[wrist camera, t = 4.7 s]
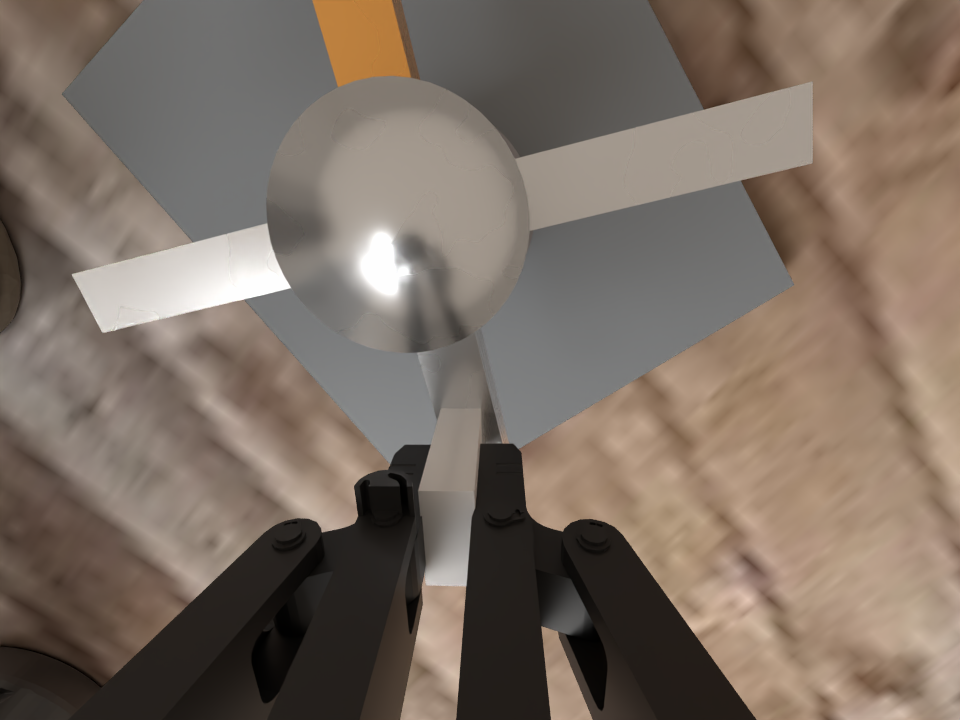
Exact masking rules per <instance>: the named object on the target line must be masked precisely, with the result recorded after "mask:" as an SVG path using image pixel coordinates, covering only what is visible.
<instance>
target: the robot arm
mask: <svg viewBox="0 0 960 720" xmlns="http://www.w3.org/2000/svg"><path fill="white" fill-rule="evenodd" d="M354 489H355V496H356V504H357V511H358V518H357V520H356V522H355V524H353V525H351V526H348V527H345V528H341V529H337V530H332V531H328V532H323V533H322V532H321V528H320V526H319V525H318V524H317V522H315V521H312V520H310V519H300V518H297V519H292V520H287V521H284V522H282V523H279V524H277V525H275V526H273V527H272V528H270V529H269V530H268V531H266V532H265V533H264V534H263V535H262V536H261V537H260V538H258V539H257V540H256V541H255V542H254V543H253V544H252V545H251V546H250V547H249V548H248V549H247V550H246V551H245V552H244V553H243V554H242V555H241V556H240V557H238V558H237V559H236V560H235V561H234V562H233V563H232V564H231V565H230V566H229V567H228V568H227V569H226V570H225V571H224V572H223V573H222V574H221V575H220V576H218V577H217V578H216V579H215V580H214V581H213V582H212V583H211V584H210V585H209V586H208V587H207V588H206V589H205V590H204V591H203V592H202V593H201V594H200V595H199V596H197V597H196V598H195V599H194V600H193V601H192V602H191V603H190V604H189V605H188V606H187V607H186V608H185V609H184V610H183V611H182V612H181V613H180V614H179V615H177V616H176V617H175V618H174V619H173V620H172V621H171V622H170V623H169V624H168V625H167V626H166V627H165V628H164V629H163V630H162V631H161V632H160V633H159V634H157V635H156V636H155V637H154V638H153V639H152V640H151V641H150V642H149V643H148V644H147V645H146V646H145V647H144V648H143V649H142V650H141V651H140V652H139V653H137V654H136V655H135V656H134V657H133V658H132V659H131V660H130V661H129V662H128V663H127V664H126V665H125V666H124V667H123V668H122V669H121V670H120V671H119V672H117V673H116V674H115V675H114V676H113V677H112V678H111V679H110V680H109V681H108V682H107V683H106V684H105V685H104V686H103V687H102V688H100V687H99V686H98V685H97V684H96V683H95V682H93V681H92V680H91V679H89V678H88V677H86V676H85V675H84V674H82V673H80V672H79V671H77V670H75V669H74V668H72V667H70V666H68V665H66V664H64V663H62V662H60V661H58V660H55V659H53V658H50V657H48V656H45V655H42V654H39V653H35V652H32V651H28V650H23V649H17V648H10V647H0V720H400V717H401V712H402V706H403V701H404V696H405V691H406V686H407V681H408V676H409V671H410V666H411V661H412V656H413V651H414V646H415V641H416V635H417V630H418V625H419V620H420V615H421V610H422V605H423V601H422V582H423V577H424V572H425V580H426V585H438V586H466V599H465V612H464V625H463V638H462V652H461V665H460V678H459V691H458V705H457V718H456V720H551V716H550V706H549V697H548V687H547V678H546V668H545V658H544V649H543V639H542V629H541V626H543V627H546V628H549V629H552V630H555V631H558V634H559V639H560V641H561V643H562V646H563V648H564V651H565V653H566V656H567V658H568V660H569V663H570V665H571V668H572V670H573V673H574V675H575V677H576V680H577V682H578V685H579V687H580V690H581V692H582V694H583V697H584V699H585V702H586V704H587V706H588V709H589V711H590V714H591V716H592V719H593V720H756V718H755V717H754V716H753V714H752V713H751V712H750V710H749V709H748V707H747V706H746V705H745V703H744V702H743V701H742V699H741V698H740V696H739V695H738V694H737V692H736V691H735V690H734V688H733V687H732V685H731V684H730V683H729V681H728V680H727V678H726V677H725V676H724V674H723V673H722V672H721V670H720V669H719V667H718V666H717V665H716V663H715V662H714V661H713V659H712V658H711V656H710V655H709V654H708V652H707V651H706V649H705V648H704V647H703V645H702V644H701V643H700V641H699V640H698V638H697V637H696V636H695V634H694V633H693V632H692V630H691V629H690V627H689V626H688V625H687V623H686V622H685V620H684V619H683V618H682V616H681V615H680V614H679V612H678V611H677V609H676V608H675V607H674V605H673V604H672V603H671V601H670V600H669V598H668V597H667V596H666V594H665V593H664V591H663V590H662V589H661V587H660V586H659V585H658V583H657V582H656V580H655V579H654V578H653V576H652V575H651V574H650V572H649V571H648V569H647V568H646V567H645V565H644V564H643V562H642V561H641V560H640V558H639V557H638V556H637V554H636V553H635V551H634V550H633V549H632V547H631V546H630V545H629V543H628V542H627V540H626V539H625V538H624V536H623V535H622V534H621V533H620V532H619V531H618V530H617V529H616V528H615V527H613V526H611V525H609V524H607V523H605V522H602V521H598V520H593V519H583V520H578V521H575V522H572V523H570V524H569V525H568V526H567V527H566V528H564V531H563V532H562V531H558V530H554V529H550V528H547V527H545V526H543V525H541V524H539V523H537V522H536V521H535V520H534V519H532V518H531V516H530V515H529V513H528V511H527V508H526V500H525V489H524V477H523V466H522V455H521V452H520V451H519V449H518V448H517V447H516V446H515V445H514V443H503V444H482V428H481V409H458V408H441V410H440V413H439V417H438V421H437V424H436V428H435V432H434V435H433V439H432V442H431V445H404V446H403V447H402V448H401V449H399V450H398V451H397V452H396V453H395V454H394V456H393V459H392V461H391V464H390V466H389V469H388V470H381V471H377V472H373V473H370V474H368V475H366V476H364V477H363V478H361V479H360V480H359V481H358V482H357V483H356V484H355V486H354Z"/></svg>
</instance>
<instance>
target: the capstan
mask: <svg viewBox="0 0 960 720" xmlns="http://www.w3.org/2000/svg"><path fill="white" fill-rule="evenodd" d="M312 1H313V4H314V8H315V11H316V15H317V18H318V21H319V25H320V28H321V31H322V35H323V38H324V41H325V45H326V48H327V52H328V55H329V58H330V62H331V65H332V68H333V72H334V75H335V79H336V82H337V85H338V88H336V89H334V90H332V91H331V92H329V93H327V94H325V95H323V96H322V97H320V98H319V99H318V100H317V101H315V102H314V103H313V104H312V105H310V106H309V107H308V108H307V109H306V110H305V111H304V112H303V113H302V114H301V115H300V116H299V117H298V119H297V120H296V121H295V122H294V123H293V125H292V126H291V128H290V129H289V131H288V132H287V134H286V135H285V137H284V139H283V141H282V143H281V145H280V147H279V149H278V151H277V153H276V156H275V159H274V162H273V165H272V168H271V171H270V176H269V182H268V187H267V201H266V210H267V223H266V224H262V225H259V226H255V227H251V228H247V229H243V230H239V231H236V232H232V233H228V234H224V235H220V236H216V237H213V238H209V239H205V240H201V241H197V242H193V243H189V244H186V245H182V246H178V247H174V248H170V249H166V250H163V251H159V252H155V253H151V254H147V255H143V256H139V257H136V258H132V259H128V260H124V261H120V262H116V263H113V264H109V265H105V266H101V267H97V268H93V269H89V270H86V271H82V272H78V273H74V274H72V276H73V278H74V280H75V282H76V283H77V285H78V287H79V289H80V291H81V293H82V295H83V297H84V299H85V301H86V302H87V304H88V306H89V308H90V310H91V312H92V314H93V316H94V318H95V320H96V321H97V323H98V325H99V327H100V329H101V331H102V333H105V332H109V331H113V330H117V329H121V328H126V327H130V326H134V325H138V324H142V323H147V322H151V321H155V320H159V319H163V318H168V317H172V316H176V315H180V314H184V313H188V312H193V311H197V310H201V309H205V308H209V307H214V306H218V305H222V304H226V303H230V302H234V301H239V300H243V299H247V298H251V297H255V296H260V295H264V294H268V293H272V292H276V291H280V290H285V289H289V288H291V289H292V290H293V291H294V293H295V294H296V295H297V297H298V298H299V299H300V301H301V302H302V303H303V304H304V305H305V306H306V308H307V309H308V310H309V311H310V312H311V313H312V314H313V315H314V316H315V317H317V318H318V319H319V320H320V321H321V322H322V323H324V324H325V325H326V326H327V327H329V328H330V329H332V330H334V331H335V332H337V333H338V334H340V335H341V336H343V337H345V338H347V339H349V340H351V341H353V342H355V343H358V344H361V345H364V346H366V347H369V348H373V349H377V350H382V351H387V352H396V353H417V355H418V358H419V361H420V365H421V368H422V371H423V375H424V378H425V382H426V385H427V388H428V392H429V395H430V398H431V402H432V405H433V408H434V412H435V415H436V419H437V421H438V417H439V413H440V410H441V408H458V409H481V428H482V444H503V443H509V441H508V437H507V433H506V428H505V424H504V420H503V416H502V412H501V408H500V404H499V400H498V396H497V392H496V388H495V383H494V379H493V375H492V371H491V367H490V363H489V359H488V355H487V351H486V347H485V343H484V338H483V334H482V330H481V327H482V326H483V325H485V324H486V323H487V322H488V321H489V320H490V319H491V318H492V317H493V316H494V315H495V314H496V313H497V312H498V311H499V310H500V308H501V307H502V306H503V304H504V303H505V301H506V300H507V299H508V297H509V296H510V294H511V292H512V290H513V289H514V287H515V285H516V283H517V281H518V278H519V276H520V273H521V271H522V268H523V265H524V261H525V257H526V253H527V249H528V241H529V233H530V231H531V230H536V229H540V228H544V227H548V226H552V225H557V224H561V223H565V222H569V221H573V220H577V219H582V218H586V217H590V216H594V215H598V214H603V213H607V212H611V211H615V210H619V209H623V208H628V207H632V206H636V205H640V204H644V203H649V202H653V201H657V200H661V199H665V198H669V197H674V196H678V195H682V194H686V193H690V192H695V191H699V190H703V189H707V188H711V187H715V186H720V185H724V184H728V183H732V182H736V181H741V180H745V179H749V178H753V177H757V176H761V175H766V174H770V173H774V172H778V171H782V170H787V169H791V168H795V167H799V166H803V165H807V164H812V163H813V81H812V82H808V83H805V84H801V85H797V86H793V87H789V88H785V89H782V90H778V91H774V92H770V93H766V94H762V95H758V96H755V97H751V98H747V99H743V100H739V101H735V102H732V103H728V104H724V105H720V106H716V107H712V108H708V109H705V110H701V111H697V112H693V113H689V114H685V115H682V116H678V117H674V118H670V119H666V120H662V121H658V122H655V123H651V124H647V125H643V126H639V127H635V128H632V129H628V130H624V131H620V132H616V133H612V134H609V135H605V136H601V137H597V138H593V139H589V140H585V141H582V142H578V143H574V144H570V145H566V146H562V147H559V148H555V149H551V150H547V151H543V152H539V153H535V154H532V155H528V156H524V157H520V158H516V159H515V158H514V156H513V154H512V152H511V151H510V149H509V147H508V145H507V143H506V142H505V140H504V139H503V138H502V136H501V135H500V134H499V132H498V131H497V129H496V128H495V127H494V126H493V125H492V124H491V122H490V121H489V120H488V119H487V118H486V117H485V116H484V115H483V114H482V113H481V112H480V111H478V110H477V109H476V108H475V107H473V106H472V105H471V104H470V103H468V102H467V101H466V100H464V99H463V98H461V97H459V96H458V95H456V94H454V93H453V92H451V91H449V90H447V89H445V88H442V87H440V86H437V85H435V84H433V83H430V82H426V81H422V80H420V76H419V72H418V68H417V64H416V60H415V56H414V52H413V48H412V44H411V40H410V36H409V31H408V27H407V23H406V19H405V15H404V11H403V7H402V3H401V0H312Z"/></svg>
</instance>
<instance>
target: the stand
mask: <svg viewBox="0 0 960 720" xmlns="http://www.w3.org/2000/svg"><path fill="white" fill-rule="evenodd" d="M401 3H402V7H403V11H404V15H405V19H406V23H407V27H408V31H409V36H410V40H411V44H412V48H413V52H414V56H415V60H416V64H417V68H418V72H419V76H420V80H422V81H426V82H430V83H433V84H435V85H437V86H440V87H442V88H445V89H447V90H449V91H451V92H453V93H454V94H456V95H458V96H459V97H461V98H463V99H464V100H466V101H467V102H468V103H470V104H471V105H472V106H473V107H475V108H476V109H477V110H478V111H480V112H481V113H482V114H483V115H484V116H485V117H486V118H487V119H488V120H489V121H490V122H491V124H492V125H493V126H494V127H495V128H496V129H497V131H498V132H499V134H500V135H501V136H502V138H503V139H504V140H505V142H506V143H507V145H508V147H509V149H510V151H511V152H512V154H513V156H514V158H515V159H516V158H520V157H524V156H528V155H532V154H535V153H539V152H543V151H547V150H551V149H555V148H559V147H562V146H566V145H570V144H574V143H578V142H582V141H585V140H589V139H593V138H597V137H601V136H605V135H609V134H612V133H616V132H620V131H624V130H628V129H632V128H635V127H639V126H643V125H647V124H651V123H655V122H658V121H662V120H666V119H670V118H674V117H678V116H682V115H685V114H689V113H693V112H697V111H701V110H704V108H703V107H702V105H701V103H700V101H699V99H698V97H697V95H696V93H695V91H694V89H693V87H692V85H691V83H690V81H689V79H688V77H687V75H686V74H685V72H684V70H683V68H682V66H681V64H680V62H679V60H678V58H677V56H676V54H675V52H674V50H673V48H672V46H671V44H670V42H669V41H668V39H667V37H666V35H665V33H664V31H663V29H662V27H661V25H660V23H659V21H658V19H657V17H656V15H655V13H654V11H653V9H652V8H651V6H650V4H649V2H648V0H401ZM336 88H338V85H337V82H336V79H335V75H334V72H333V68H332V65H331V62H330V58H329V55H328V52H327V48H326V45H325V41H324V38H323V35H322V31H321V28H320V25H319V21H318V18H317V15H316V11H315V8H314V4H313V1H312V0H143V1H142V3H141V4H140V5H139V6H138V7H137V8H136V9H135V11H134V12H133V13H132V14H131V15H130V16H129V17H128V19H127V20H126V21H125V22H124V23H123V24H122V25H121V27H120V28H119V29H118V30H117V31H116V32H115V34H114V35H113V36H112V37H111V38H110V39H109V40H108V42H107V43H106V44H105V45H104V46H103V47H102V48H101V50H100V51H99V52H98V53H97V54H96V55H95V56H94V58H93V59H92V60H91V61H90V62H89V63H88V64H87V66H86V67H85V68H84V69H83V70H82V71H81V72H80V74H79V75H78V76H77V77H76V78H75V79H74V80H73V82H72V83H71V84H70V85H69V86H68V87H67V88H66V90H65V91H64V92H63V93H62V95H63V96H64V97H65V98H66V100H67V101H68V102H69V103H70V104H71V105H72V106H73V107H74V109H75V110H76V111H77V112H78V113H79V114H80V115H81V116H82V118H83V119H84V120H85V121H86V122H87V123H88V124H89V125H90V127H91V128H92V129H93V130H94V131H95V132H96V133H97V134H98V136H99V137H100V138H101V139H102V140H103V141H104V142H105V144H106V145H107V146H108V147H109V148H110V149H111V150H112V151H113V153H114V154H115V155H116V156H117V157H118V158H119V159H120V160H121V162H122V163H123V164H124V165H125V166H126V167H127V168H128V169H129V171H130V172H131V173H132V174H133V175H134V176H135V177H136V178H137V180H138V181H139V182H140V183H141V184H142V185H143V186H144V187H145V189H146V190H147V191H148V192H149V193H150V194H151V195H152V196H153V198H154V199H155V200H156V201H157V202H158V203H159V204H160V205H161V207H162V208H163V209H164V210H165V211H166V212H167V213H168V214H169V216H170V217H171V218H172V219H173V220H174V221H175V222H176V224H177V225H178V226H179V227H180V228H181V229H182V230H183V231H184V233H185V234H186V235H187V236H188V237H189V238H190V239H191V240H192V242H197V241H201V240H205V239H209V238H213V237H216V236H220V235H224V234H228V233H232V232H236V231H239V230H243V229H247V228H251V227H255V226H259V225H262V224H266V223H267V210H266V201H267V187H268V182H269V176H270V171H271V168H272V165H273V162H274V159H275V156H276V153H277V151H278V149H279V147H280V145H281V143H282V141H283V139H284V137H285V135H286V134H287V132H288V131H289V129H290V128H291V126H292V125H293V123H294V122H295V121H296V120H297V119H298V117H299V116H300V115H301V114H302V113H303V112H304V111H305V110H306V109H307V108H308V107H309V106H310V105H312V104H313V103H314V102H315V101H317V100H318V99H319V98H320V97H322V96H323V95H325V94H327V93H329V92H331V91H332V90H334V89H336ZM793 285H794V283H793V281H792V279H791V277H790V275H789V274H788V272H787V270H786V268H785V266H784V264H783V262H782V260H781V258H780V256H779V254H778V252H777V250H776V248H775V246H774V244H773V242H772V241H771V239H770V237H769V235H768V233H767V231H766V229H765V227H764V225H763V223H762V221H761V219H760V217H759V215H758V213H757V211H756V209H755V208H754V206H753V204H752V202H751V200H750V198H749V196H748V194H747V192H746V190H745V188H744V186H743V184H742V182H741V181H736V182H732V183H728V184H724V185H720V186H715V187H711V188H707V189H703V190H699V191H695V192H690V193H686V194H682V195H678V196H674V197H669V198H665V199H661V200H657V201H653V202H649V203H644V204H640V205H636V206H632V207H628V208H623V209H619V210H615V211H611V212H607V213H603V214H598V215H594V216H590V217H586V218H582V219H577V220H573V221H569V222H565V223H561V224H557V225H552V226H548V227H544V228H540V229H536V230H531V231H530V233H529V241H528V249H527V253H526V257H525V261H524V265H523V268H522V271H521V273H520V276H519V278H518V281H517V283H516V285H515V287H514V289H513V290H512V292H511V294H510V296H509V297H508V299H507V300H506V301H505V303H504V304H503V306H502V307H501V308H500V310H499V311H498V312H497V313H496V314H495V315H494V316H493V317H492V318H491V319H490V320H489V321H488V322H487V323H486V324H485V325H483V326H482V327H481V330H482V334H483V338H484V343H485V347H486V351H487V355H488V359H489V363H490V367H491V371H492V375H493V379H494V383H495V388H496V392H497V396H498V400H499V404H500V408H501V412H502V416H503V420H504V424H505V428H506V433H507V437H508V441H509V443H514V445H515V446H516V447H517V448H518V449H519V448H521V447H523V446H524V445H526V444H528V443H529V442H531V441H533V440H534V439H536V438H538V437H539V436H541V435H543V434H544V433H546V432H548V431H549V430H551V429H553V428H555V427H556V426H558V425H560V424H561V423H563V422H565V421H566V420H568V419H570V418H571V417H573V416H575V415H576V414H578V413H580V412H581V411H583V410H585V409H587V408H588V407H590V406H592V405H593V404H595V403H597V402H598V401H600V400H602V399H603V398H605V397H607V396H608V395H610V394H612V393H613V392H615V391H617V390H618V389H620V388H622V387H624V386H625V385H627V384H629V383H630V382H632V381H634V380H635V379H637V378H639V377H640V376H642V375H644V374H645V373H647V372H649V371H650V370H652V369H654V368H655V367H657V366H659V365H661V364H662V363H664V362H666V361H667V360H669V359H671V358H672V357H674V356H676V355H677V354H679V353H681V352H682V351H684V350H686V349H687V348H689V347H691V346H692V345H694V344H696V343H698V342H699V341H701V340H703V339H704V338H706V337H708V336H709V335H711V334H713V333H714V332H716V331H718V330H719V329H721V328H723V327H724V326H726V325H728V324H729V323H731V322H733V321H735V320H736V319H738V318H740V317H741V316H743V315H745V314H746V313H748V312H750V311H751V310H753V309H755V308H756V307H758V306H760V305H761V304H763V303H765V302H766V301H768V300H770V299H772V298H773V297H775V296H777V295H778V294H780V293H782V292H783V291H785V290H787V289H788V288H790V287H792V286H793ZM244 300H245V301H246V302H247V303H248V305H249V306H250V307H251V308H252V309H253V310H254V311H255V313H256V314H257V315H258V316H259V317H260V318H261V319H262V320H263V322H264V323H265V324H266V325H267V326H268V327H269V328H270V329H271V331H272V332H273V333H274V334H275V335H276V336H277V337H278V338H279V340H280V341H281V342H282V343H283V344H284V345H285V346H286V347H287V349H288V350H289V351H290V352H291V353H292V354H293V355H294V356H295V358H296V359H297V360H298V361H299V362H300V363H301V364H302V365H303V367H304V368H305V369H306V370H307V371H308V372H309V373H310V374H311V376H312V377H313V378H314V379H315V380H316V381H317V382H318V383H319V385H320V386H321V387H322V388H323V389H324V390H325V391H326V393H327V394H328V395H329V396H330V397H331V398H332V399H333V400H334V402H335V403H336V404H337V405H338V406H339V407H340V408H341V409H342V411H343V412H344V413H345V414H346V415H347V416H348V417H349V418H350V420H351V421H352V422H353V423H354V424H355V425H356V426H357V427H358V429H359V430H360V431H361V432H362V433H363V434H364V435H365V436H366V438H367V439H368V440H369V441H370V442H371V443H372V444H373V445H374V447H375V448H376V449H377V450H378V451H379V452H380V453H381V454H382V456H383V457H384V458H385V459H386V460H387V461H388V462H389V463H390V464H391V461H392V459H393V456H394V454H395V453H396V452H397V451H398V450H399V449H401V448H402V447H403V446H404V445H431V442H432V439H433V435H434V432H435V428H436V424H437V419H436V415H435V412H434V408H433V405H432V402H431V398H430V395H429V392H428V388H427V385H426V382H425V378H424V375H423V371H422V368H421V365H420V361H419V358H418V355H417V353H396V352H387V351H382V350H377V349H373V348H369V347H366V346H364V345H361V344H358V343H355V342H353V341H351V340H349V339H347V338H345V337H343V336H341V335H340V334H338V333H337V332H335V331H334V330H332V329H330V328H329V327H327V326H326V325H325V324H324V323H322V322H321V321H320V320H319V319H318V318H317V317H315V316H314V315H313V314H312V313H311V312H310V311H309V310H308V309H307V308H306V306H305V305H304V304H303V303H302V302H301V301H300V299H299V298H298V297H297V295H296V294H295V293H294V291H293V290H292V289H291V288H289V289H285V290H280V291H276V292H272V293H268V294H264V295H260V296H255V297H251V298H247V299H244Z"/></svg>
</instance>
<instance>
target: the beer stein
mask: <svg viewBox="0 0 960 720" xmlns="http://www.w3.org/2000/svg"><path fill="white" fill-rule="evenodd" d="M20 290H21V280H20V273H19V267H18V261H17V256H16V254H15V251H14V249H13V246H12V244H11V241H10V239H9V236H8V234H7V231H6V229H5V227H4V225H3V224H2V222H1V220H0V333H1V332H2V331H3V330H4V329H5V328H6V327H7V326H8V325H9V324H10V323H11V321H12V319H13V318H14V316H15V313H16V309H17V306H18V303H19V300H20Z"/></svg>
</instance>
